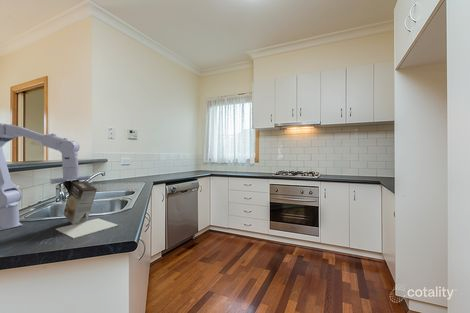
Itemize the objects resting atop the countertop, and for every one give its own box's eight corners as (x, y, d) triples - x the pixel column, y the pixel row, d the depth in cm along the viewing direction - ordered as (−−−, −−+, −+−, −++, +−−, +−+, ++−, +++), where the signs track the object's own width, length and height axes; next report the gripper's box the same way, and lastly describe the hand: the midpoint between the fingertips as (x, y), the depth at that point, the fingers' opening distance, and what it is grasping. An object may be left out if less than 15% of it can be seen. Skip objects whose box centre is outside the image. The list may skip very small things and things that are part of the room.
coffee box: (62, 214, 97) (71, 181, 95) (77, 212, 103) (86, 180, 101) (72, 224, 93) (82, 190, 91) (88, 221, 99) (97, 189, 97)
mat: (55, 229, 89) (55, 228, 88) (98, 218, 102) (98, 218, 102) (73, 238, 78) (73, 237, 78) (118, 225, 92) (118, 224, 92)
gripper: (53, 169, 90) (55, 201, 90) (92, 166, 102) (94, 195, 102) (47, 168, 94) (49, 200, 94) (85, 166, 106) (87, 193, 106)
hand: (72, 197), depth 99 cm, fingers closed, pressing on coffee box
